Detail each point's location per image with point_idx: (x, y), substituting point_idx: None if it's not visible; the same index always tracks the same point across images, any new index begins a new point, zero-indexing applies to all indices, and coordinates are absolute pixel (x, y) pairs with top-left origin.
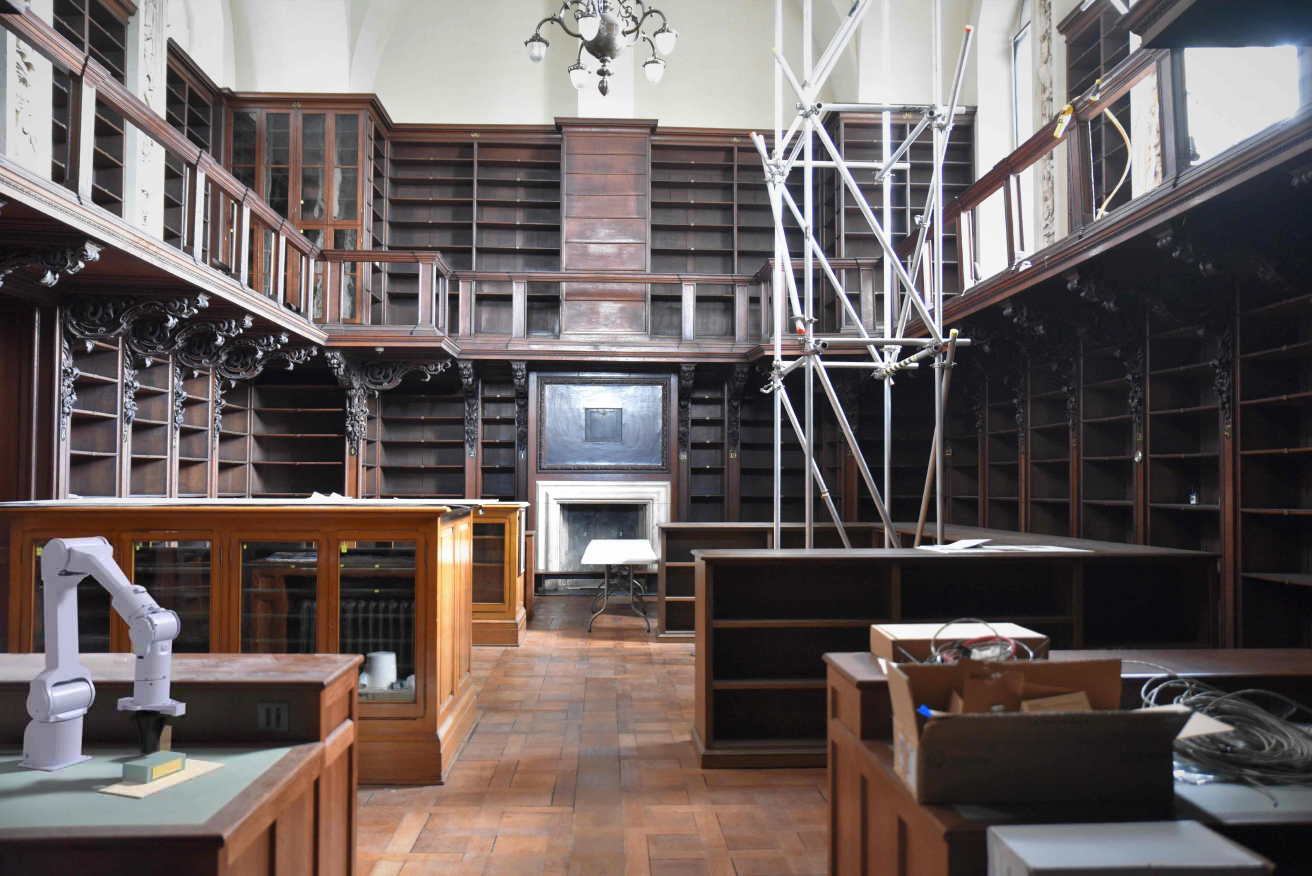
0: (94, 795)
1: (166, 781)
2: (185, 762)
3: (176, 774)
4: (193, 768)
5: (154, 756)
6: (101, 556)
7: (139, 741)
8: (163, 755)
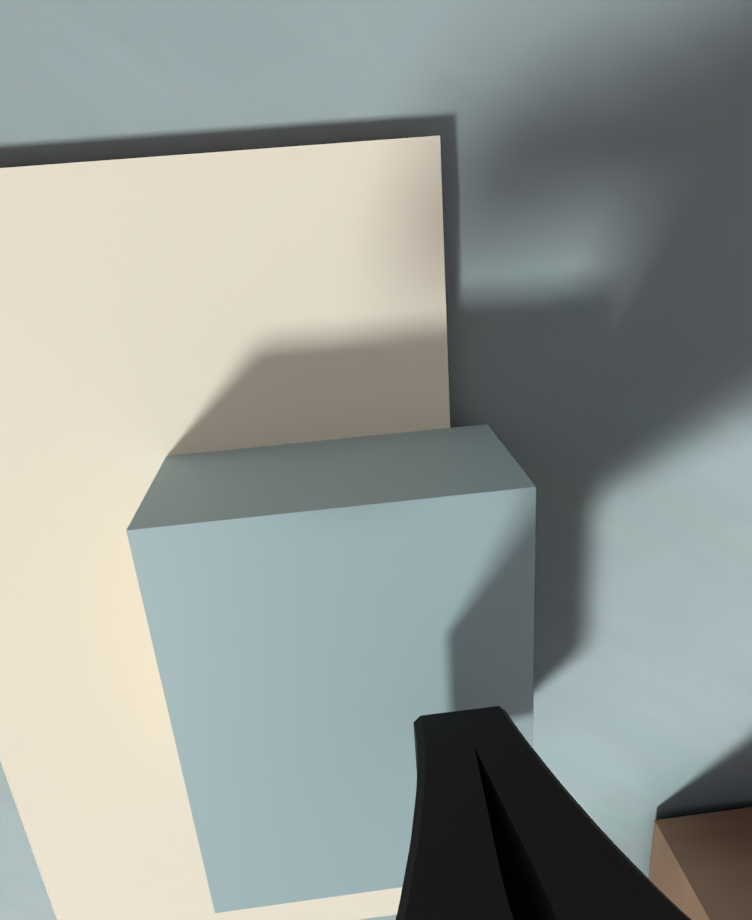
0: (407, 75)
1: (71, 568)
2: None
3: None
4: None
5: None
6: None
7: (558, 801)
8: (364, 802)
